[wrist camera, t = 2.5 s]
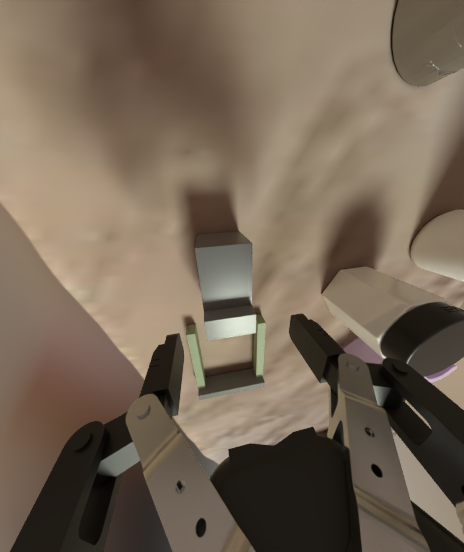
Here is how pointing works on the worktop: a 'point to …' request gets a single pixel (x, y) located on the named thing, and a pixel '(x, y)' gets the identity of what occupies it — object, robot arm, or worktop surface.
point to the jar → (398, 319)
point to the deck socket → (231, 380)
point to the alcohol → (441, 245)
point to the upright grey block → (226, 284)
